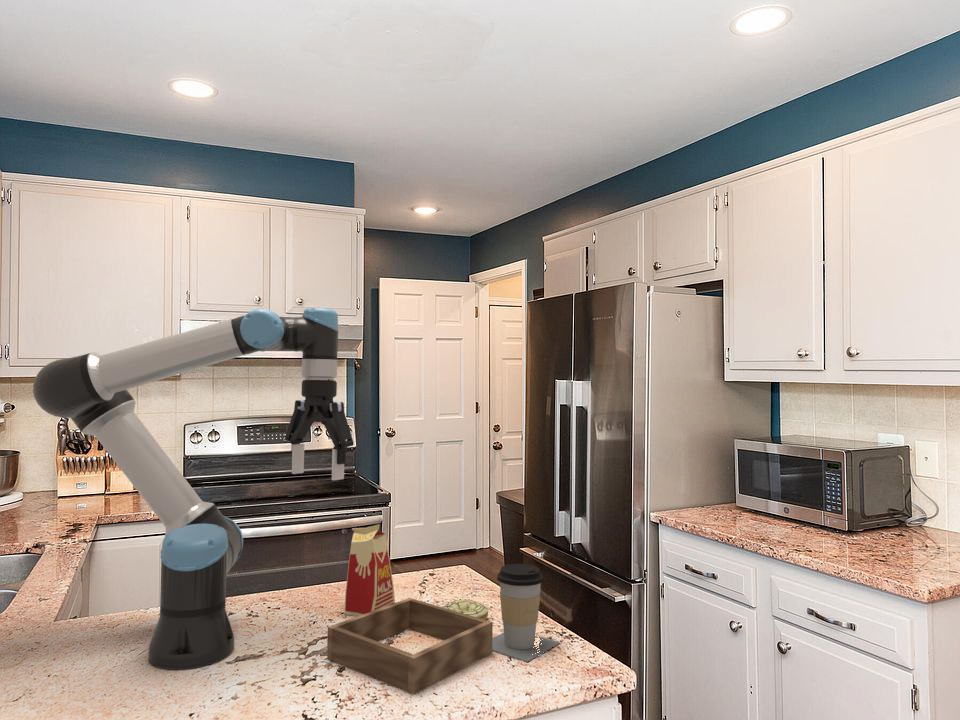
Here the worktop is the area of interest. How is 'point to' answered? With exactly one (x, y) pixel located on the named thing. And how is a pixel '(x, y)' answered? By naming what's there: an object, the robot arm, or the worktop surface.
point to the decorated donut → (468, 608)
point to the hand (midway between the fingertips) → (317, 476)
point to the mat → (525, 654)
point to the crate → (401, 669)
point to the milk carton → (368, 573)
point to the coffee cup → (519, 603)
